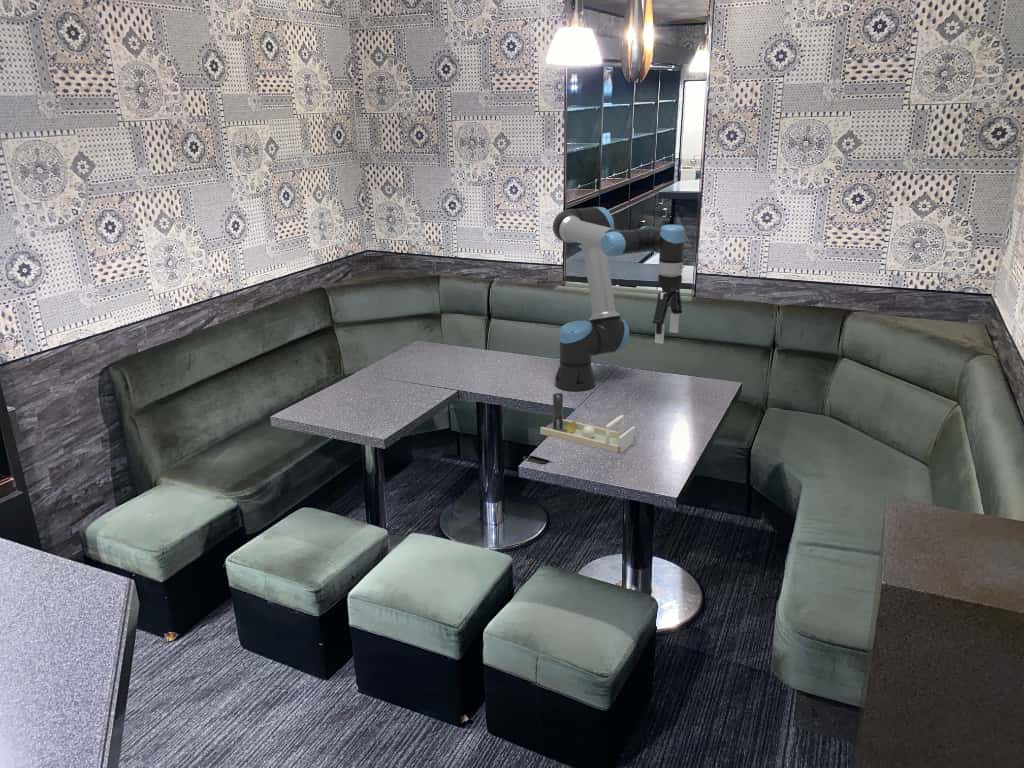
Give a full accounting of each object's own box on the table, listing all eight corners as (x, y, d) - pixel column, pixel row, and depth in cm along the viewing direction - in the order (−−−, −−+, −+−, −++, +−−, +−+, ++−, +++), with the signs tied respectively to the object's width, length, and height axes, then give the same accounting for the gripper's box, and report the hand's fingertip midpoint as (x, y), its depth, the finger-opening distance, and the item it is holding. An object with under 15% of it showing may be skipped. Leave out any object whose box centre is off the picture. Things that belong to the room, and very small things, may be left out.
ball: (579, 438, 243) (579, 426, 241) (585, 434, 246) (585, 422, 244) (590, 441, 241) (591, 429, 239) (597, 437, 244) (597, 425, 242)
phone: (521, 457, 232) (546, 439, 244) (521, 460, 233) (546, 442, 244) (544, 462, 228) (568, 444, 240) (544, 466, 229) (568, 447, 241)
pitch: (540, 437, 247) (539, 410, 244) (556, 426, 255) (556, 400, 252) (620, 457, 232) (620, 429, 229) (634, 445, 240) (636, 418, 237)
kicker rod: (543, 431, 248) (542, 396, 244) (553, 424, 253) (553, 389, 249) (566, 436, 244) (566, 401, 240) (576, 429, 249) (577, 394, 245)
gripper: (667, 283, 239) (663, 349, 247) (694, 268, 259) (690, 329, 267) (644, 280, 243) (641, 345, 250) (672, 265, 263) (669, 326, 270)
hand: (666, 337), depth 258 cm, fingers open, 13 cm apart
